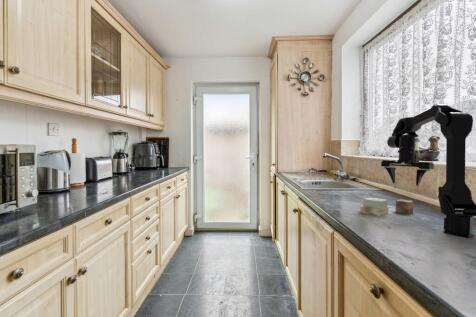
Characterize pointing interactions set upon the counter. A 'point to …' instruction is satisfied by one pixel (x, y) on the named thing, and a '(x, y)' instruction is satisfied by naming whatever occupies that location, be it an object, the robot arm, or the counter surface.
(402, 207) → the walnut cube
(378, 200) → the sage slab
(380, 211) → the beech slab
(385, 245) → the counter surface
